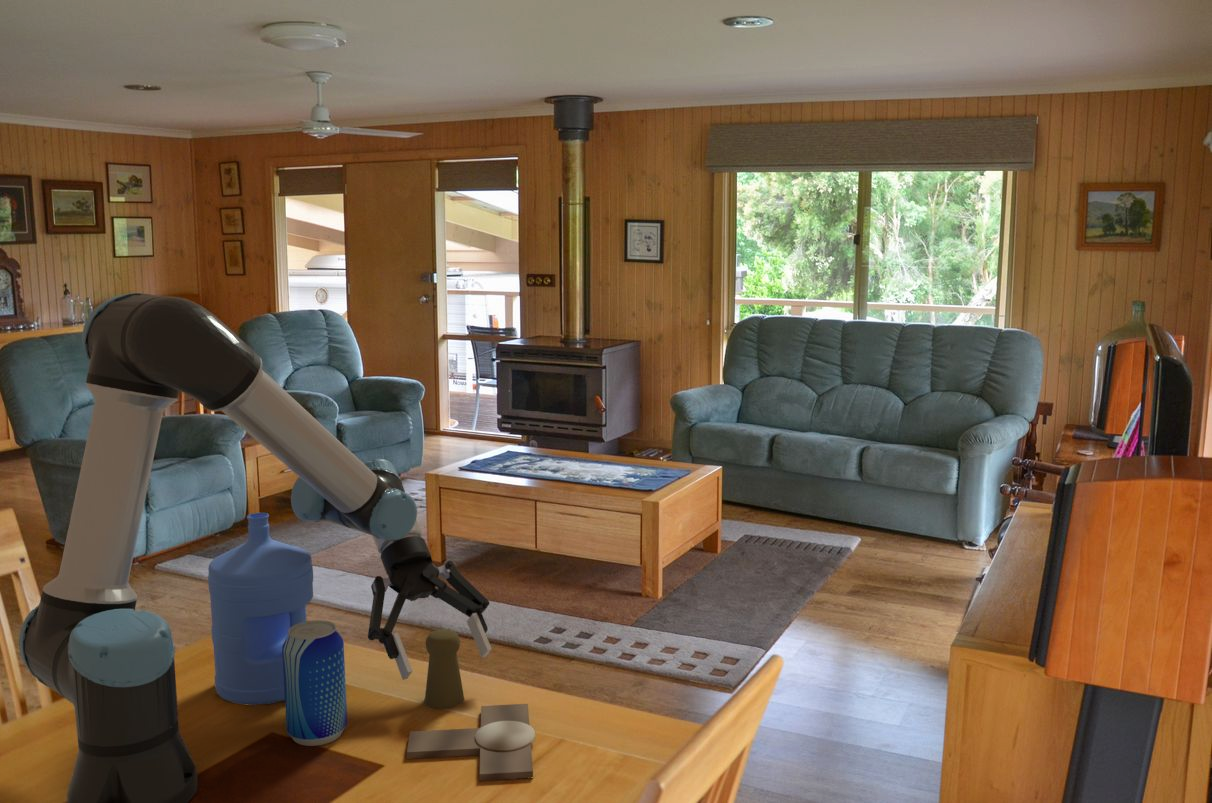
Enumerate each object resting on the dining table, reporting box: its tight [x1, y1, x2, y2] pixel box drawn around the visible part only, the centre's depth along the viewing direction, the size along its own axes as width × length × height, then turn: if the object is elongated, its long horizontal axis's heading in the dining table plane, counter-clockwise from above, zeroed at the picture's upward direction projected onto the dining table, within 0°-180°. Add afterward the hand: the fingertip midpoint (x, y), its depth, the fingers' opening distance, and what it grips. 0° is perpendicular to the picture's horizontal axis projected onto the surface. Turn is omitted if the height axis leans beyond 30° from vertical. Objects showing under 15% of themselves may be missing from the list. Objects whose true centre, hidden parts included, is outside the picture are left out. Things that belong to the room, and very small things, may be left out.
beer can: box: [282, 619, 348, 747], centre depth 149 cm, size 8×8×16 cm
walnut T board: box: [406, 703, 536, 782], centre depth 147 cm, size 18×20×1 cm
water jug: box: [207, 512, 314, 706], centre depth 164 cm, size 16×16×28 cm
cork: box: [424, 628, 465, 710], centre depth 160 cm, size 6×6×11 cm
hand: (448, 664), depth 160 cm, fingers open, 13 cm apart
